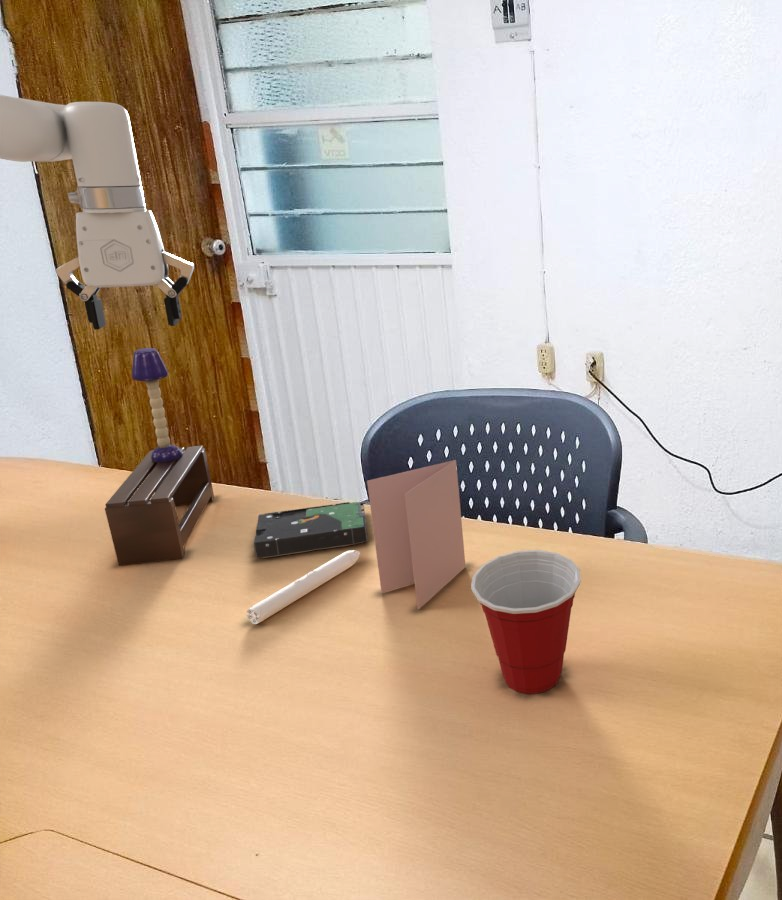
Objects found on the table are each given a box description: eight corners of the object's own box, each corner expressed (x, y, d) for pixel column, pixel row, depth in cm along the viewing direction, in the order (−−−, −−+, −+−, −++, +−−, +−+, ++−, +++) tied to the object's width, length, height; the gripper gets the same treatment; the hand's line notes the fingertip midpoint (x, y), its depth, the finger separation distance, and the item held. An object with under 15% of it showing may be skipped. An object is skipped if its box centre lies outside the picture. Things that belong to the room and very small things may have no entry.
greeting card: (462, 564, 109) (453, 458, 104) (488, 586, 103) (479, 475, 98) (379, 590, 103) (364, 478, 98) (401, 615, 97) (387, 498, 92)
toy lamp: (192, 454, 126) (170, 347, 120) (168, 465, 122) (144, 354, 116) (167, 451, 127) (144, 345, 122) (142, 462, 123) (118, 352, 118)
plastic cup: (466, 708, 81) (455, 599, 77) (494, 646, 91) (486, 547, 87) (575, 715, 79) (570, 605, 75) (592, 651, 89) (589, 552, 85)
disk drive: (257, 562, 112) (369, 543, 116) (253, 543, 111) (367, 525, 115) (260, 531, 121) (365, 515, 125) (257, 514, 120) (362, 497, 124)
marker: (354, 557, 112) (352, 542, 111) (366, 560, 111) (364, 544, 110) (247, 622, 97) (244, 604, 96) (260, 626, 96) (257, 608, 95)
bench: (118, 565, 111) (103, 504, 108) (160, 503, 132) (148, 450, 128) (182, 558, 113) (169, 497, 110) (214, 497, 133) (204, 445, 130)
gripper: (30, 203, 107) (60, 334, 113) (175, 200, 111) (197, 327, 116) (52, 200, 114) (79, 324, 119) (188, 198, 117) (208, 318, 123)
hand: (137, 326), depth 118 cm, fingers open, 9 cm apart
